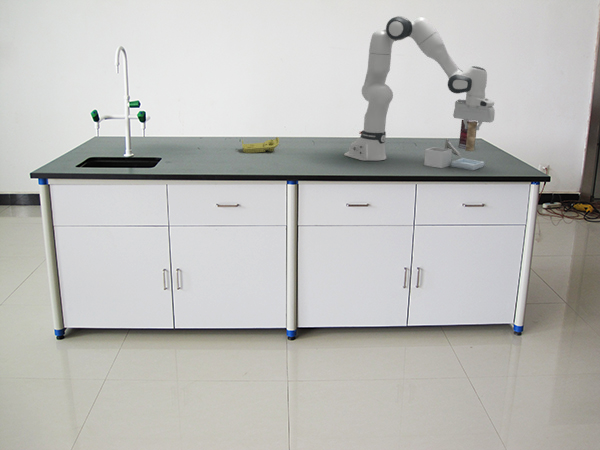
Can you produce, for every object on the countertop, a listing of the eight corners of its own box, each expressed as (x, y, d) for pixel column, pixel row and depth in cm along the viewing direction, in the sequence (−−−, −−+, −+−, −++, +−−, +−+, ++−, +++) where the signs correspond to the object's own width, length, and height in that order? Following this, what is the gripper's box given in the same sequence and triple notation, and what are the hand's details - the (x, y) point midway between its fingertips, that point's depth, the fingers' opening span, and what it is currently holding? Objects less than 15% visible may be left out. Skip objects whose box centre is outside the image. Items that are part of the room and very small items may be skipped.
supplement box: (474, 149, 346) (478, 121, 341) (468, 149, 344) (471, 121, 339) (464, 146, 353) (467, 119, 348) (458, 146, 351) (461, 119, 346)
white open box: (424, 165, 305) (425, 149, 302) (433, 162, 312) (435, 146, 309) (441, 168, 299) (442, 152, 296) (450, 165, 306) (452, 149, 303)
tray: (450, 166, 304) (451, 161, 303) (461, 162, 312) (462, 158, 312) (472, 170, 296) (473, 165, 296) (483, 166, 305) (484, 161, 304)
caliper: (444, 149, 346) (445, 138, 344) (446, 149, 346) (447, 138, 344) (459, 156, 327) (460, 145, 325) (461, 156, 327) (462, 145, 325)
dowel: (464, 150, 302) (467, 122, 297) (467, 149, 304) (470, 121, 300) (471, 151, 299) (474, 123, 294) (475, 150, 302) (478, 122, 297)
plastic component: (242, 149, 319) (241, 137, 326) (243, 160, 324) (242, 148, 331) (280, 146, 321) (278, 135, 328) (280, 157, 326) (278, 145, 333)
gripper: (452, 99, 298) (449, 127, 302) (491, 103, 285) (488, 132, 290) (458, 98, 302) (455, 125, 307) (497, 102, 290) (494, 131, 294)
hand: (471, 129), depth 298 cm, fingers closed on dowel, 4 cm apart
